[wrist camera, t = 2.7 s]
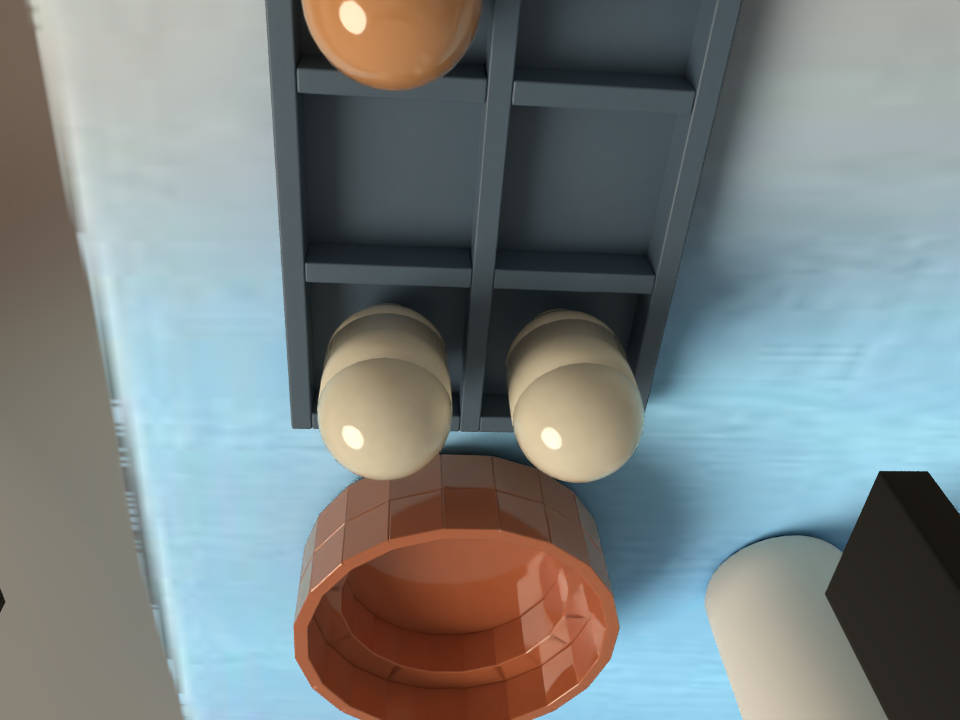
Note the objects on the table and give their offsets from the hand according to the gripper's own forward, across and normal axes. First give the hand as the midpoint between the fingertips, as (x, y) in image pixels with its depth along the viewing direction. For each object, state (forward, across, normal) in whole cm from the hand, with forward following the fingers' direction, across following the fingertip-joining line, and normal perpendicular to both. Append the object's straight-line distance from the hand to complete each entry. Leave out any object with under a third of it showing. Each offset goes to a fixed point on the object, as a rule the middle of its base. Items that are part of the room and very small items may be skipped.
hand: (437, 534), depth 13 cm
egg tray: (+20, +2, -2) cm, 20 cm away
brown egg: (+19, -1, +5) cm, 20 cm away
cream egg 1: (+19, -1, -9) cm, 21 cm away
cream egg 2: (+19, +6, -9) cm, 22 cm away
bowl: (+20, +2, -22) cm, 30 cm away
